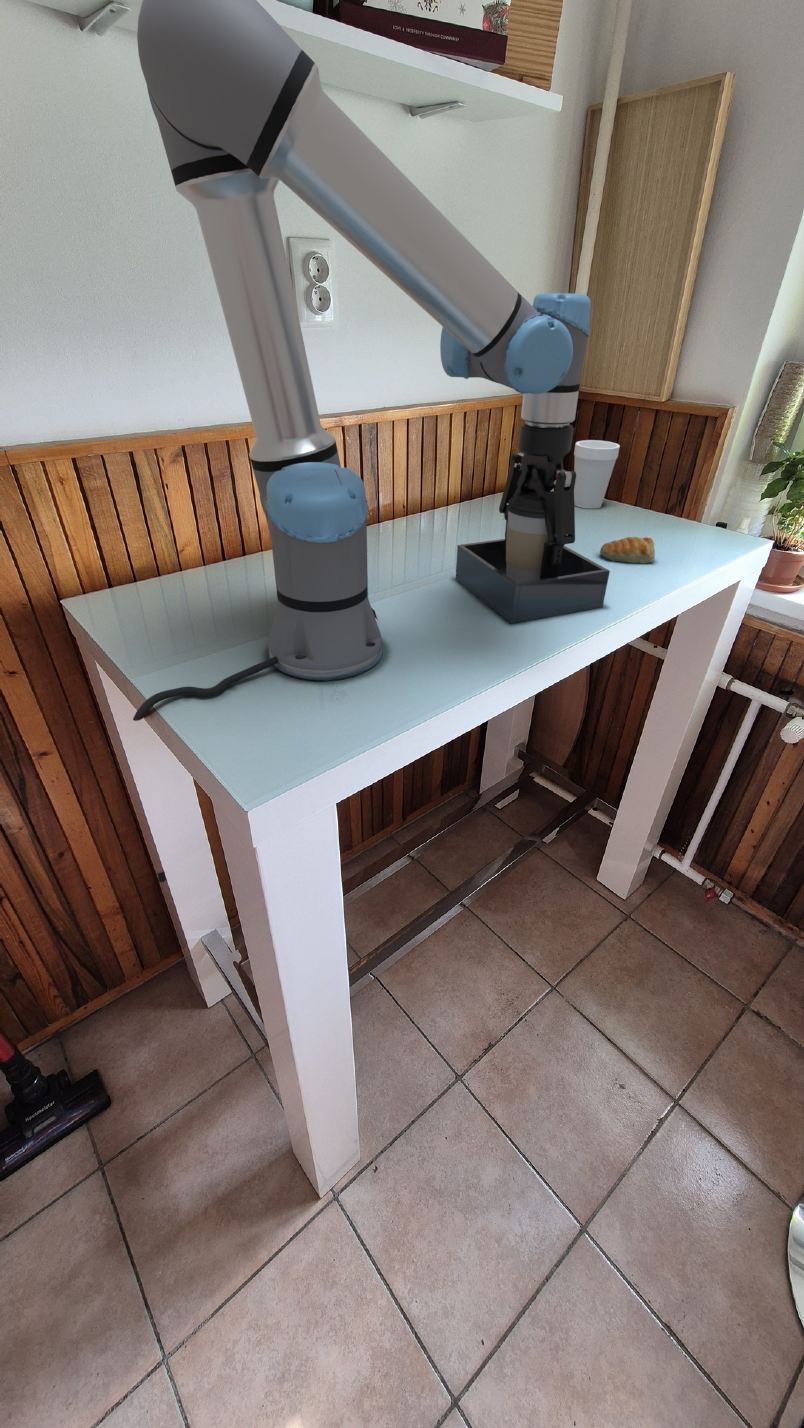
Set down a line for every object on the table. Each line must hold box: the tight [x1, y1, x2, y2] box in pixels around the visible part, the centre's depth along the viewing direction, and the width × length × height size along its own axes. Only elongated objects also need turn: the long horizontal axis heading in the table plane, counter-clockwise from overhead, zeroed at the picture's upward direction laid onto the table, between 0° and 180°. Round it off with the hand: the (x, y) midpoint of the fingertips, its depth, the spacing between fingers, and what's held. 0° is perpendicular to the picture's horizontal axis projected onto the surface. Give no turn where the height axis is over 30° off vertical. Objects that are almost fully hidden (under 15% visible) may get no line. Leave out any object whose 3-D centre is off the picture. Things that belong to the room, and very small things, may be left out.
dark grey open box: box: [455, 538, 611, 625], centre depth 104 cm, size 17×19×6 cm
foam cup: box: [573, 439, 621, 509], centre depth 145 cm, size 10×9×13 cm
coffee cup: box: [506, 490, 556, 583], centre depth 101 cm, size 9×9×15 cm
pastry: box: [599, 536, 656, 564], centre depth 119 cm, size 9×7×4 cm
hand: (528, 571), depth 104 cm, fingers open, 10 cm apart
